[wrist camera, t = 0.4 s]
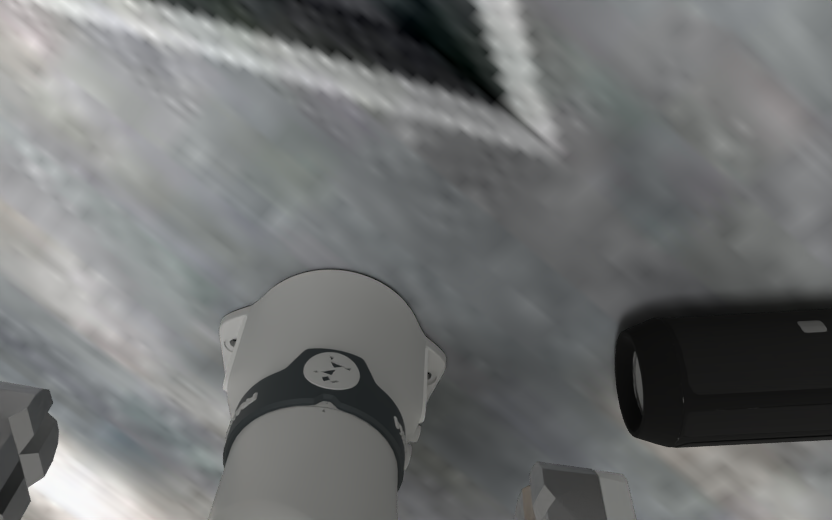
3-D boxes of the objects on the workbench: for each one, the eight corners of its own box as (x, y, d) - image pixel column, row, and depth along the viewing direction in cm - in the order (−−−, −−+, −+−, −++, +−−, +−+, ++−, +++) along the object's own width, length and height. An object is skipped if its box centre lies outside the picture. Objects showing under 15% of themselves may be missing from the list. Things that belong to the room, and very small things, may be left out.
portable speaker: (940, 276, 54) (1041, 352, 46) (906, 375, 59) (991, 461, 50) (616, 295, 55) (654, 373, 47) (608, 391, 60) (641, 478, 51)
